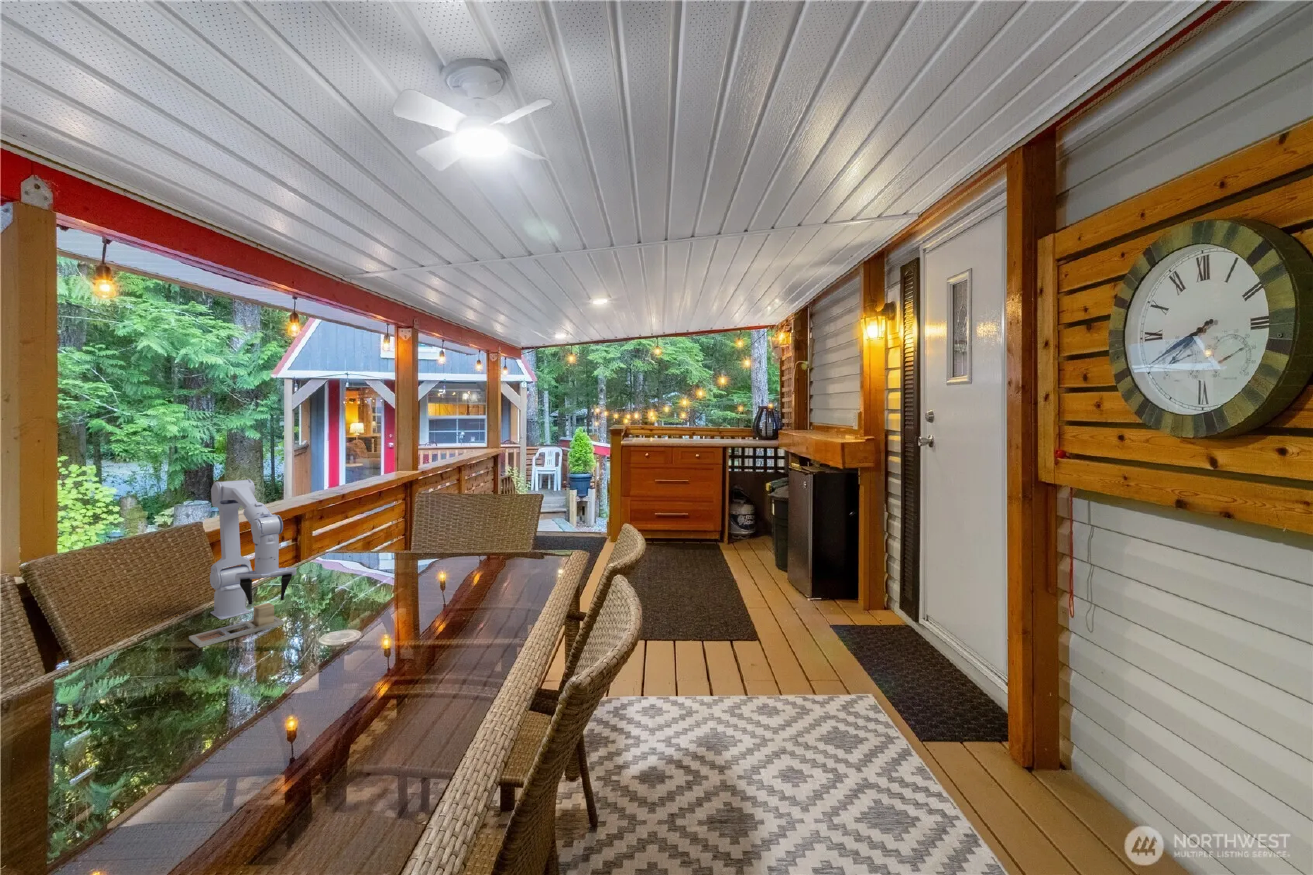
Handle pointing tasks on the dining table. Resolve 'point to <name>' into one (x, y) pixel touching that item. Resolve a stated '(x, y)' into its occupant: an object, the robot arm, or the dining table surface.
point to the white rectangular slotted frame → (215, 636)
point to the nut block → (263, 614)
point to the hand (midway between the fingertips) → (266, 601)
